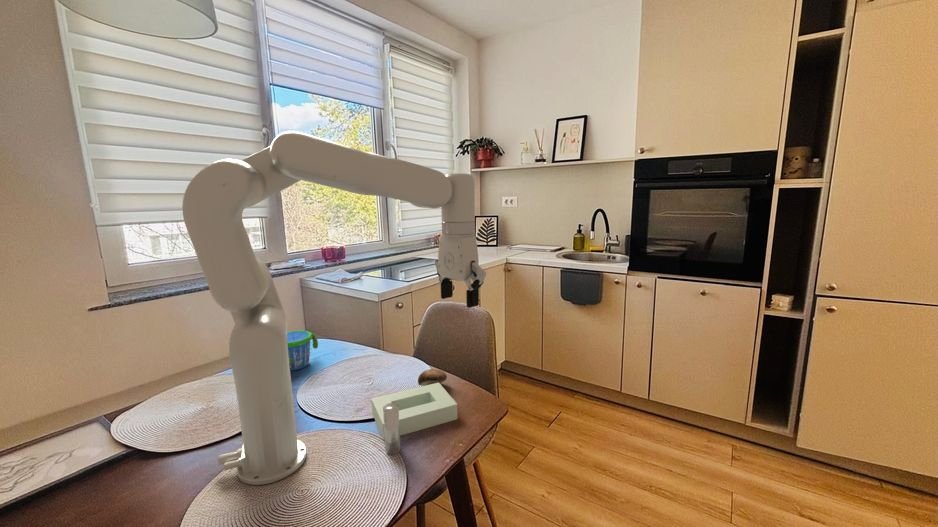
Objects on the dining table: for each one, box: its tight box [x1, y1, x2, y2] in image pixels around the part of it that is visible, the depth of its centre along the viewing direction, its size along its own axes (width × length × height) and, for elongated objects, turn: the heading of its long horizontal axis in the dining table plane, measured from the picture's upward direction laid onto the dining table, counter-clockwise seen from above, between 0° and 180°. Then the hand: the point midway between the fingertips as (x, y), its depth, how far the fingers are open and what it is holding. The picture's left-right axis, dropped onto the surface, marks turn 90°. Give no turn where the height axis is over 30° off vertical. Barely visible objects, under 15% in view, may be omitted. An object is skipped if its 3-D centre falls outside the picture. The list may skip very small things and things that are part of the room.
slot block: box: [371, 383, 458, 441], centre depth 94 cm, size 18×12×4 cm, turn 116°
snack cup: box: [287, 329, 319, 371], centre depth 121 cm, size 16×10×10 cm
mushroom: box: [417, 368, 448, 387], centre depth 107 cm, size 8×8×6 cm
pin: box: [383, 403, 401, 456], centre depth 81 cm, size 3×3×10 cm
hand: (459, 301), depth 90 cm, fingers open, 9 cm apart
